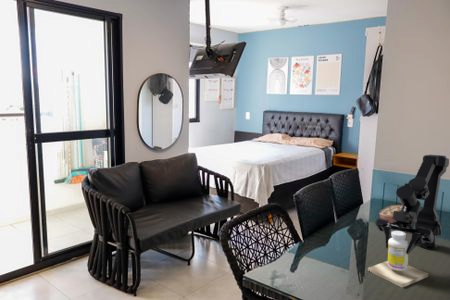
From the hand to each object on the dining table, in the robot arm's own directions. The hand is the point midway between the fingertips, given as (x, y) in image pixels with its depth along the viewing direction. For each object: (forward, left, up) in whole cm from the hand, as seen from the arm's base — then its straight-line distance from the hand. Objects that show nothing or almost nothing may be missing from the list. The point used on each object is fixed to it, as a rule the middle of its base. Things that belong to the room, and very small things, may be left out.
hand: (396, 250), depth 127 cm
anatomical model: (-52, -39, -9) cm, 66 cm away
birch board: (-1, 0, -9) cm, 9 cm away
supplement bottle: (-1, 0, -7) cm, 7 cm away
